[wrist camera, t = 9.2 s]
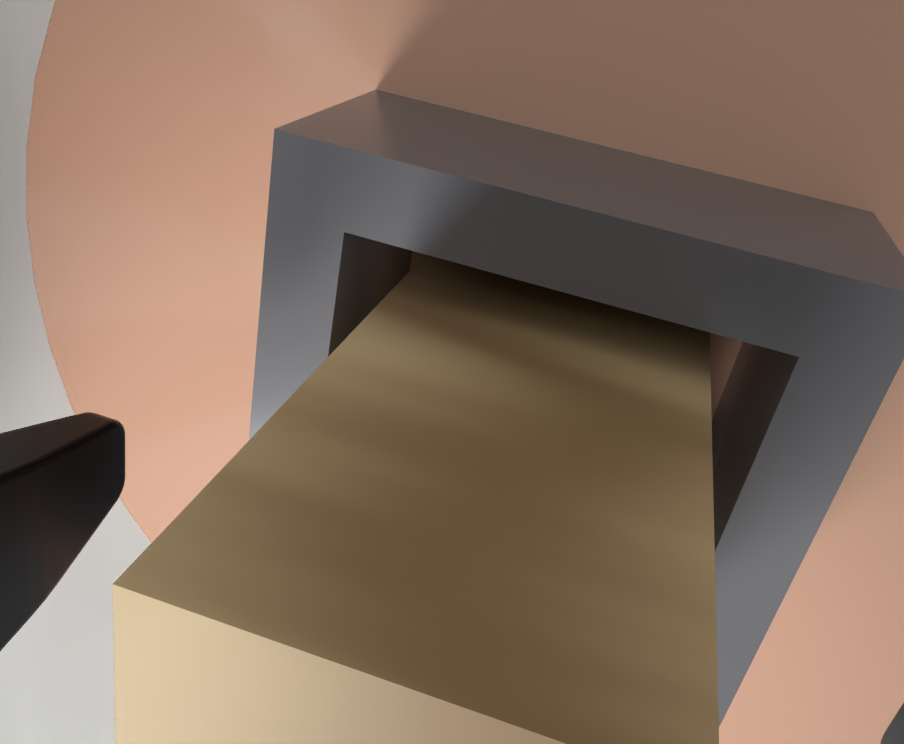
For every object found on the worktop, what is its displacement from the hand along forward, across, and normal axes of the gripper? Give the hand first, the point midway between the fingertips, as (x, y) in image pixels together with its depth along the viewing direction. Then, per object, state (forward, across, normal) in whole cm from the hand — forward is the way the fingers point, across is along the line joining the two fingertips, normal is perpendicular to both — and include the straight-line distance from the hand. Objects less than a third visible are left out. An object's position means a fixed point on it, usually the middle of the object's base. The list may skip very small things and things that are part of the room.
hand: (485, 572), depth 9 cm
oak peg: (+5, 0, 0) cm, 5 cm away
